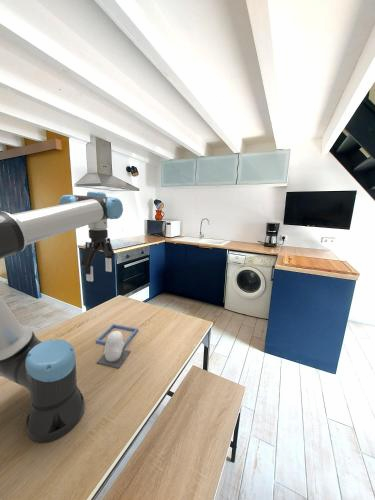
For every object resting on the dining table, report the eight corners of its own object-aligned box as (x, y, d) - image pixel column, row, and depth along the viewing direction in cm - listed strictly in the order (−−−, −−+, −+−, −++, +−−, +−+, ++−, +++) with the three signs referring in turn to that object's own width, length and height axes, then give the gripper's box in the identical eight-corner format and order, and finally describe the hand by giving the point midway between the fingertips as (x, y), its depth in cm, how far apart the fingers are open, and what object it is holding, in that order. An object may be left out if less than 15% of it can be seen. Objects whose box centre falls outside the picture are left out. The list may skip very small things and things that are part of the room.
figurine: (119, 363, 86) (118, 338, 83) (101, 361, 86) (100, 336, 84) (125, 351, 93) (125, 327, 90) (109, 349, 93) (108, 326, 91)
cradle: (123, 349, 95) (123, 346, 95) (95, 343, 98) (95, 340, 98) (137, 331, 109) (137, 328, 109) (113, 326, 112) (113, 323, 112)
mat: (118, 368, 84) (118, 367, 84) (96, 363, 86) (96, 362, 86) (130, 352, 94) (130, 350, 93) (110, 347, 96) (110, 346, 95)
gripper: (85, 233, 77) (88, 287, 81) (121, 226, 100) (121, 268, 105) (68, 231, 78) (72, 284, 83) (107, 225, 102) (108, 267, 106)
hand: (99, 275), depth 94 cm, fingers open, 13 cm apart
